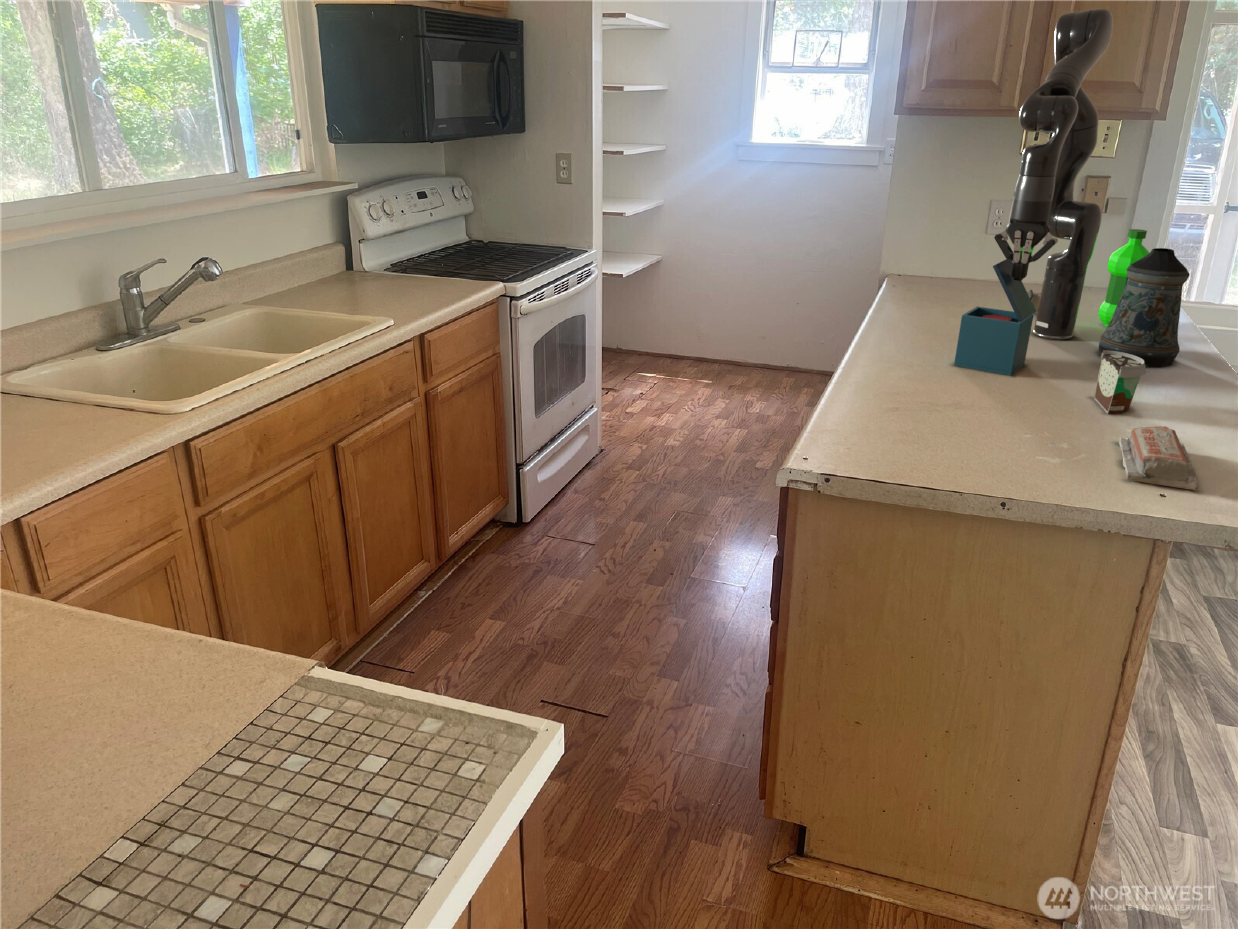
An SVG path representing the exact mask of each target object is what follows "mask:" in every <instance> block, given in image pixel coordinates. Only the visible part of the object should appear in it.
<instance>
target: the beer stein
mask: <svg viewBox="0 0 1238 929" xmlns="http://www.w3.org/2000/svg"><path fill="white" fill-rule="evenodd" d="M1127 277H1128V279H1127V283H1126V286H1125V288H1124V290H1123V293H1122V295H1121V298H1120V300H1119V302H1118V305H1117V307H1116V309H1115V312H1114V314H1113V316H1112V319H1111V321H1110V323H1109V324H1108V326H1106V328H1105V330H1104V332H1103V333H1102V334H1101V335H1100V337H1099V340H1098V355H1099V356H1100V357H1101V356H1102V353H1103V350H1108V351H1117V352H1123V353H1127V354H1131V355H1134V356H1137V357H1139V358H1141V359H1143V360H1144V364H1145V368H1165V367H1171V366H1172V365H1173V364H1174V362H1175V360H1176V358H1177V357H1178V355H1179V353H1180V351H1181V349H1180V344H1179V339H1178V338H1179V324H1180V317H1181V316H1180V315H1181V309H1182V308H1181V307H1182V298H1183V297H1182V296H1183V288H1184V287H1183V286H1184V284H1185V283H1186V282H1187V281H1188V279H1189V277H1190V272H1189V270H1188V268H1187V267H1186V266H1185V265H1184V264H1183V263H1182V262H1181V261H1180V260H1179V259H1178V258H1177V256H1176V255H1175V250H1174V249H1171V248H1166V247H1164V248H1163V247H1157V248H1155V247H1154V248H1152V249H1151V251H1149V254H1148V255H1146V256H1144V257H1143V258H1141V259H1139V260H1138V261H1136V262H1134V263H1133V264H1131V265H1130V266H1129V267H1128V268H1127Z"/></svg>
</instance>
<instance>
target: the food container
mask: <svg viewBox="0 0 1238 929" xmlns="http://www.w3.org/2000/svg"><path fill="white" fill-rule="evenodd" d="M1100 360H1101V361H1100V366H1099V371H1098V375H1097V381H1096V387H1095V392H1094V397H1093V399H1094V401H1096V403H1097V404H1098V405H1099V406H1100V407H1101V408H1102V409H1103V410H1104V411H1105V413H1106V414H1107V415H1122V414H1125V413H1128V412H1129V411H1130V409H1131V408H1130V407H1131V405H1132V403H1133V399H1134V396H1135V393H1136V390H1137V387H1138V384H1139V381H1140V378H1141V377H1142V376H1144V375H1146V367H1145V364H1144V360H1143V359H1141V358H1139V357H1137V356H1134V355H1131V354H1127V353H1123V352H1117V351H1108V350H1103V353H1102V356H1100Z"/></svg>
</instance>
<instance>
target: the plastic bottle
mask: <svg viewBox="0 0 1238 929" xmlns="http://www.w3.org/2000/svg"><path fill="white" fill-rule="evenodd" d="M1147 233H1148V230H1146V229H1141V228H1138V229H1137V228H1131V229H1128V231H1127V235H1126V238H1128V242H1127V243H1126V244H1124V245H1123V246H1121V247H1119V248H1118V249H1116V250H1115V251H1113V252H1112V253H1111V254H1110V256H1109V258H1108V262H1107V271H1108V273H1109V274H1110V277H1109V281H1108V286H1107V289H1106V290H1107V291H1106V295H1105V299H1104V301H1103V302H1102V303H1101V305H1100V306H1099V309H1098V318H1099V321H1100V322H1101V323H1102V324H1103V325H1104V326H1105V327H1107V326H1108V324H1109V323H1110V321H1111V319H1112V316H1113V314H1114V312H1115V309H1116V307H1117V305H1118V302H1119V300H1120V298H1121V295H1122V293H1123V290H1124V288H1125V286H1126V283H1127V279H1128V277H1127V268H1128V267H1129V266H1130V265H1131V264H1133V263H1134V262H1136V261H1138V260H1139V259H1141V258H1143V257H1144V256H1146V255H1148V254H1149V253H1150V251H1149V249H1147V248H1146V247H1145V246H1144V244H1143V240H1145V239H1146V237H1147Z"/></svg>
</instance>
